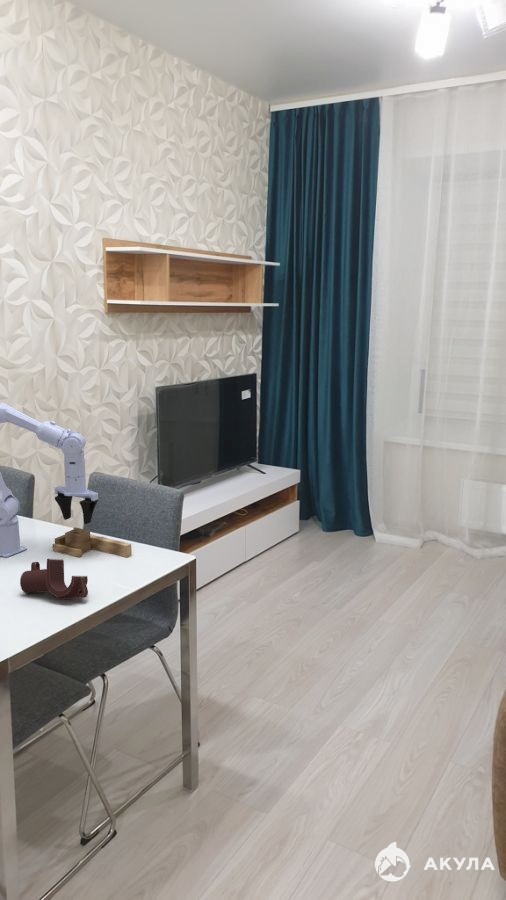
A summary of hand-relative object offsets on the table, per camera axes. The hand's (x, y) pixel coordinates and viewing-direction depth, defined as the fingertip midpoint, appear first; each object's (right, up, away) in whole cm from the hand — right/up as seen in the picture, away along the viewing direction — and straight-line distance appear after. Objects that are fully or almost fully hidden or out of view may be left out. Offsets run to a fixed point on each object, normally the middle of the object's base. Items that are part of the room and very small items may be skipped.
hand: (77, 520), depth 207 cm
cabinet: (0, -9, +2) cm, 9 cm away
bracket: (+2, -16, -28) cm, 32 cm away
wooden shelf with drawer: (+4, -9, 0) cm, 10 cm away
